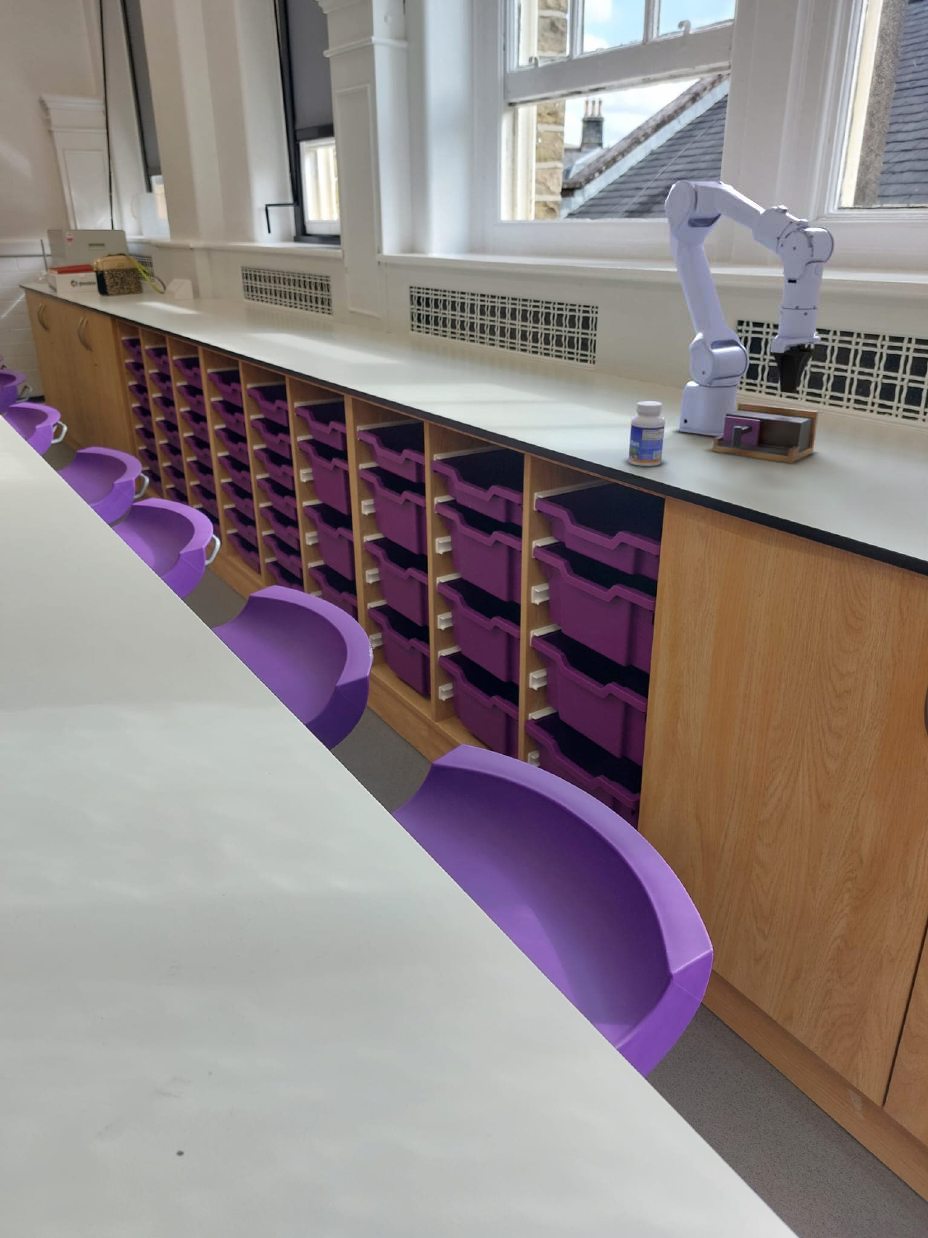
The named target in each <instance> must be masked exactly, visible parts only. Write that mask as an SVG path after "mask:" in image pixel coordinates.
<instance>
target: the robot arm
mask: <svg viewBox="0 0 928 1238" xmlns="http://www.w3.org/2000/svg"><path fill="white" fill-rule="evenodd" d="M663 209H664V212H665V216H666V218H667V222H668V225H669V246H670V250H671V253H672V257H673V260H674V264H675V269H676V271H677V274H678V278H679V281H680V285H681V289H682V292H683V295H684V300H685V302H686V305H687V310H688V312H689V317H690V320H691V324H692V327H693V330H694V334H695V337H694V339H693V340H692V342H691V343H690V345H689V346H688V348H687V349H688V352H689V360H690V361H689V371H690V374H691V377H692V378H693V379H694V381H689V382H688V383H687V384H686V385H685V387H684V388H683V392H682V395H681V402H680V415H679V427H678V428H677V429H676V431H677V432H681V433H690V434H697V435H704V436H710V437H711V436H712V437H719V436H723V433H724V423H725V417H726V414H727V413H730V412H733V411H735V410H736V404H737V397H738V396H737V395H738V387H739V385H738V384H740V383H741V378H742V377H744V376H745V374H746V373H747V372H748V370H749V366H750V355H749V352H748V350H747V349H746V347H745V346H744V345H743V344H742V343H741V340H740V337H739V334H738V333H736V332H735V331H734V330H733V329H731V328H730V327H729V326H727V324H726V320H725V316H724V313H723V309H722V306H721V302H720V299H719V295H718V293H717V288H716V285H715V281H714V278H713V275H712V271H711V268H710V263H709V261H708V258H707V254H706V250H705V247H704V241H705V238H706V237H708V236H709V235H710V233H711V232H712V231H713V229H714V228H715V226H716V225H717V223H718V222H719V220H720V219H721V218H722V216H725V217H726V218H729V219H731V220H732V221H735V222H737V223H739V224H740V225H743V226H744V227H746V228H748V229H751V230H752V237H753V239H754V241H755V242H757V243H759V244H761V245H762V246H764V247H765V248H767V249H768V250H771V251H772V252H774V253H775V254H777V255H778V256H779V258H780V260H781V263H782V265H783V273H782V274H783V275H784V276H783V277H784V281H783V289H782V296H781V306H780V312H779V321H778V328H777V329H778V330H777V334H776V335H775V337H774V338H773V339H771V343H770V351H769V352H770V353H772V356H773V358H774V360H775V363H776V367H777V372H778V378H779V379H778V380H779V388H780V392H781V393H787V394H794V393H796V392H797V390H798V387H799V384H800V381H801V379H802V377H803V376H802V375H803V374H804V371H805V369H806V367H807V365H808V363H809V361H810V360H811V358H812V357H813V355H814V354H815V348H813V347H806V346H808V345H816V344H817V343H818V342H821V340H822V336H819V332H818V331H815V330H816V323H817V318H818V317H817V316H818V311H819V310H818V308H819V304H820V303H819V302H820V295H821V289H822V288H821V287H822V282H823V274H824V266H825V264H826V263H827V262H829V260H830V258H831V257H832V255H833V253H834V250H835V239H834V237H833V234H832V233H831V231H829V230H828V229H827V227H825V226H816V227H813V228H811V226H810V225H809V223H810V222H809V221H808V220H807V219H805V218H803V219H802V218H801V219H798V218H797V217H795V216H793V215H792V214H789V213H788V210H789V209H788V207H786V206H784V205H777V206H770V207H768V208H766V209H764V208H763V207H761V206H759V205H758V204H757V203H755V202H754V201H752V200H750V199H749V198H748V197H746V196H744V195H743V194H741V193H740V192H739V191H737V190H735V189H734V188H733V186H732V185H730V184H725V183H724V182H723V181H720V180H712V181H697V180H694V181H693V180H692V181H691V180H686V179H683V180H678V181H676V183H674V184H672V186H671V188H670V189H669V193H668V194H667V198H666V200H665V203H664V206H663Z"/></svg>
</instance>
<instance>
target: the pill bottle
mask: <svg viewBox="0 0 928 1238" xmlns="http://www.w3.org/2000/svg"><path fill="white" fill-rule="evenodd" d="M662 411H663V403H662V402H659V401H652V400H651V401H650V400H645V401H644V400H643V401H639V402H637V403H636V413H637V414H635V415H634V416H633V417H632V418H631V419H630V420H631V421H630V433H629V434H630V435H629V448H628V449H629V450H628V462H629V463H630V464H631V465H634V466H638V467H655V466H658V465H660V464H661V463H662V460H663V459H662V458H663V447H664V436H665V426H666V420H665V418H664V417H663V416H662V415H661V413H662Z"/></svg>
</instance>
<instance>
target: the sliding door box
mask: <svg viewBox="0 0 928 1238" xmlns="http://www.w3.org/2000/svg"><path fill="white" fill-rule="evenodd" d="M819 413H820V412H819V411H818V410H813V409H802V408H793V407H784V406H778V405H777V406H775V405H768V404H767V405H766V404H759V403H750V402H743V401H741V402H738V403H737V408H736V409H735V411H733V412H730V413H727V414H726V416H731V417H739V418H747V419H755V420H760V429H759V437H758V445H757V446H752V445H745V444H741V445H740V447H733V446H732V443H731V442H724V441H723V436H719V437H717V436H715V437H714V438H713V443H712V444H713V445H712V452H715V453H716V452H717V453H723V454H730V455H736V456H743V457H751V458H757V459H762V460H770V461H776V462H783V463H789V464H792V463H795V462H796V461H799V460H801V459H803V458H805V457H807V456H809V455H811V454H813V453H814V446H815V441H816V434H817V427H818V420H819Z"/></svg>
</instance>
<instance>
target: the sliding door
mask: <svg viewBox="0 0 928 1238" xmlns="http://www.w3.org/2000/svg"><path fill="white" fill-rule="evenodd" d="M759 429H760V420H755V419H747V418H739V417H731V416H726V417H725V423H724V433H723V441H724V442H731V443H732V446H733V447H740V445H741V444H745V445H752V446H757V445H758V437H759Z"/></svg>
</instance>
